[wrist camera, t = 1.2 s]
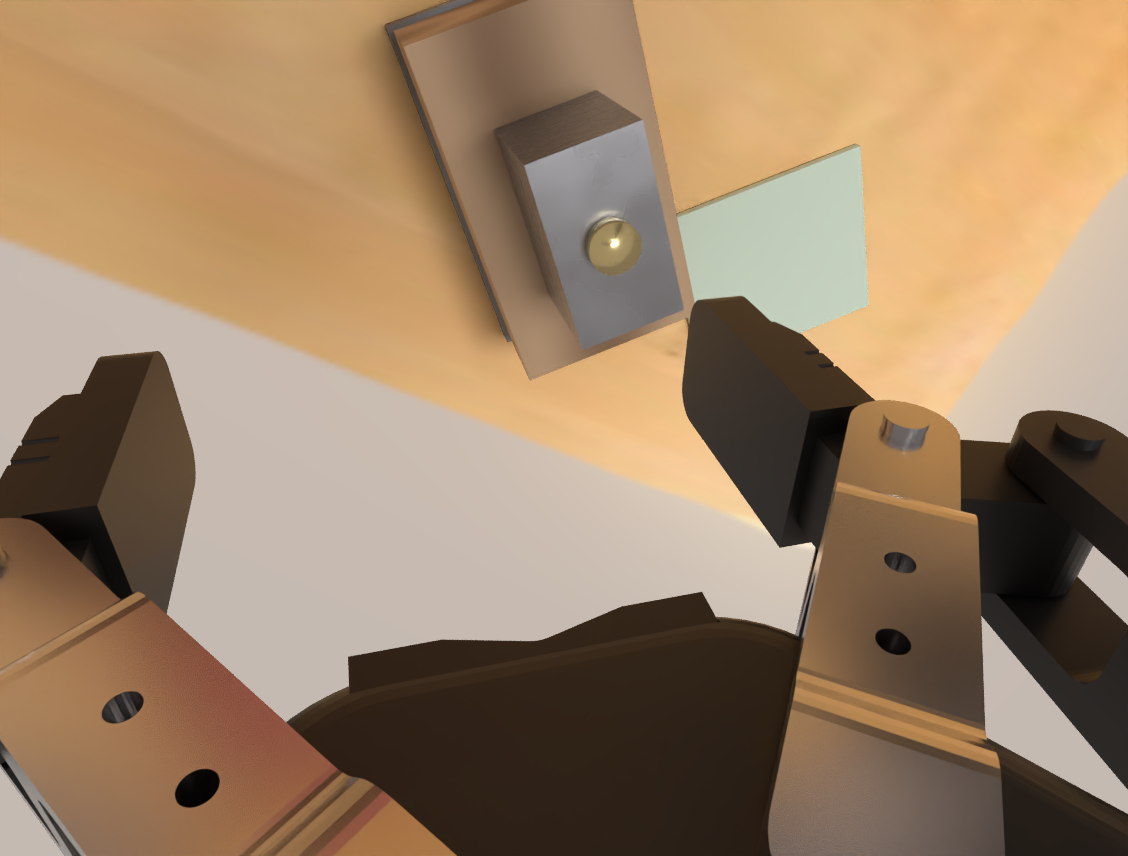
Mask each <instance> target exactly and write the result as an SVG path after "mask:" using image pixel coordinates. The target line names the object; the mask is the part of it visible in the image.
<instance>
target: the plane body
mask: <svg viewBox="0 0 1128 856" xmlns="http://www.w3.org/2000/svg"><path fill="white" fill-rule="evenodd" d="M385 27H386V30H387V32H388V35H389V37H390V40H391V42H392V45H393V48H394V50H395V53H396V55H397V58H398V61H399V63H400V66H401V68H402V71H403V74H404V76H405V79H406V81H407V84H408V87H409V89H410V92H411V94H412V97H413V99H414V102H415V105H416V107H417V110H418V112H419V115H420V118H421V120H422V123H423V125H424V128H425V131H426V133H427V136H428V138H429V141H430V144H431V146H432V149H433V151H434V154H435V157H436V159H437V162H438V164H439V167H440V169H441V172H442V175H443V177H444V180H445V182H446V185H447V188H448V190H449V193H450V195H451V198H452V201H453V203H454V206H455V208H456V211H457V214H458V216H459V219H460V221H461V224H462V227H463V229H464V232H465V234H466V237H467V239H468V242H469V245H470V247H471V250H472V252H473V255H474V258H475V260H476V263H477V265H478V268H479V271H480V273H481V276H482V278H483V281H484V284H485V286H486V289H487V291H488V294H489V296H490V299H491V302H492V304H493V307H494V309H495V312H496V315H497V317H498V320H499V322H500V325H501V328H502V330H503V333H504V335H505V338H506V340H507V342H509V341H512V343H513V345H514V347H515V349H516V351H517V353H518V356H519V358H520V360H521V362H522V364H523V366H524V369H525V371H526V373H527V375H528V377H529V380H532V379H535V378H537V377H540V376H542V375H545V374H547V373H550V372H552V371H555V370H557V369H560V368H562V367H565V366H567V365H570V364H572V363H575V362H577V361H580V360H582V359H585V358H587V357H590V356H592V355H595V354H597V353H600V352H602V351H605V350H607V349H610V348H612V347H615V346H617V345H620V344H622V343H625V342H627V341H630V340H632V339H635V338H637V337H640V336H642V335H645V334H647V333H650V332H652V331H655V330H657V329H660V328H662V327H665V326H667V325H670V324H672V323H675V322H677V321H680V320H682V319H685V318H687V317H690V315H691V310H692V307H693V305H694V303H695V301H694V297H693V292H692V287H691V282H690V277H689V272H688V267H687V263H686V258H685V253H684V248H683V243H682V238H681V233H680V229H679V224H678V219H677V214H676V209H675V204H674V199H673V195H672V190H671V185H670V180H669V175H668V170H667V165H666V161H665V156H664V151H663V146H662V141H661V136H660V131H659V127H658V122H657V117H656V112H655V107H654V102H653V97H652V93H651V88H650V83H649V78H648V73H647V68H646V63H645V59H644V54H643V49H642V44H641V39H640V34H639V29H638V25H637V20H636V15H635V10H634V5H633V0H450V1H448V2H445V3H442V4H439V5H437V6H434V7H431V8H429V9H426V10H423V11H421V12H418V13H415V14H413V15H410V16H407V17H404V18H402V19H399V20H396V21H394V22H391V23H388V24H386V25H385ZM595 90H597V91H599V92H600V93H602V94H604V95H605V96H607V97H608V98H610V99H611V100H613V101H615V102H616V103H618V104H619V105H621V106H622V107H624V108H626V109H627V110H629V111H630V112H632V113H633V114H635V115H637V116H638V117H640V118H641V119H643V122H644V126H645V131H646V136H647V140H648V145H649V149H650V154H651V159H652V163H653V168H654V173H655V177H656V182H657V186H658V191H659V196H660V200H661V205H662V209H663V214H664V219H665V223H666V228H667V233H668V237H669V242H670V246H671V251H672V256H673V260H674V265H675V270H676V274H677V279H678V283H679V288H680V293H681V297H682V302H683V306H684V310H682V311H680V312H677V313H675V314H672V315H670V316H667V317H665V318H662V319H660V320H657V321H655V322H652V323H650V324H647V325H645V326H642V327H640V328H637V329H635V330H632V331H630V332H627V333H625V334H622V335H620V336H617V337H615V338H612V339H610V340H607V341H605V342H602V343H600V344H597V345H595V346H592V347H590V348H587V349H585V350H582V348H581V346H580V345H579V343H578V341H577V340H576V338H575V336H574V335H573V333H572V332H571V330H570V328H569V327H568V325H567V323H566V322H565V320H564V319H563V317H562V315H561V314H560V312H559V310H558V309H557V307H556V305H555V304H554V302H553V301H552V299H551V297H550V296H549V293H548V290H547V287H546V284H545V281H544V278H543V275H542V272H541V269H540V266H539V263H538V260H537V257H536V254H535V251H534V248H533V245H532V242H531V239H530V236H529V233H528V230H527V227H526V224H525V221H524V218H523V215H522V212H521V209H520V206H519V203H518V200H517V197H516V194H515V191H514V188H513V185H512V182H511V179H510V176H509V173H508V170H507V167H506V164H505V161H504V158H503V155H502V152H501V149H500V146H499V143H498V139H497V136H496V133H495V130H494V129H495V128H498V127H500V126H503V125H506V124H508V123H511V122H514V121H516V120H519V119H521V118H524V117H527V116H529V115H532V114H535V113H537V112H540V111H542V110H545V109H548V108H550V107H553V106H556V105H558V104H561V103H563V102H566V101H569V100H571V99H574V98H577V97H579V96H582V95H584V94H587V93H590V92H592V91H595Z"/></svg>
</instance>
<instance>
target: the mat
mask: <svg viewBox="0 0 1128 856" xmlns="http://www.w3.org/2000/svg"><path fill="white" fill-rule="evenodd" d="M677 219H678V224H679V229H680V233H681V238H682V243H683V248H684V253H685V258H686V263H687V267H688V272H689V277H690V282H691V287H692V292H693V297H694V301H695V302H696V301H697V300H702V299H712V298H722V297H732V296H744V297H745V298H746V299H748V300H749V301H750V302H751V303H752V304H753V305H754V306H755V307H756V308H757V309H758V310H759V311H760V312H762V313H763V314H764V315H765V316H766V317H767V318H768V319H769V320H770V321H771V322H774V321H775V322H777V323H779V324H781V325H783V326H785V327H787V328H789V329H792V330H794V331H796V332H798V333H802V332H804V331H806V330H809V329H811V328H814V327H816V326H819V325H821V324H824V323H826V322H829V321H831V320H834V319H836V318H839V317H841V316H844V315H846V314H849V313H851V312H854V311H856V310H859V309H861V308H863V307H866V306H868V305H869V302H868V282H867V263H866V244H865V224H864V205H863V186H862V166H861V147H860V145H857V144H854V145H851V146H849V147H846V148H844V149H841V150H839V151H836V152H833V153H831V154H828V155H826V156H823V157H821V158H818V159H816V160H813V161H811V162H808V163H805V164H803V165H800V166H798V167H795V168H793V169H790V170H788V171H785V172H782V173H780V174H777V175H775V176H772V177H770V178H767V179H765V180H762V181H760V182H757V183H754V184H752V185H749V186H747V187H744V188H742V189H739V190H737V191H734V192H731V193H729V194H726V195H724V196H721V197H719V198H716V199H714V200H711V201H708V202H706V203H703V204H701V205H698V206H696V207H693V208H691V209H688V210H686V211H683V212H680V213H678V214H677ZM687 319H688V324H689V322H690V317H687Z"/></svg>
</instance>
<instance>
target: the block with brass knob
mask: <svg viewBox="0 0 1128 856" xmlns="http://www.w3.org/2000/svg"><path fill="white" fill-rule="evenodd" d="M494 130H495V133H496V136H497V139H498V143H499V146H500V149H501V152H502V155H503V158H504V161H505V164H506V167H507V170H508V173H509V176H510V179H511V182H512V185H513V188H514V191H515V194H516V197H517V200H518V203H519V206H520V209H521V212H522V215H523V218H524V221H525V224H526V227H527V230H528V233H529V236H530V239H531V242H532V245H533V248H534V251H535V254H536V257H537V260H538V263H539V266H540V269H541V272H542V275H543V278H544V281H545V284H546V287H547V290H548V293H549V296H550V297H551V299H552V301H553V302H554V304H555V305H556V307H557V309H558V310H559V312H560V314H561V315H562V317H563V319H564V320H565V322H566V323H567V325H568V327H569V328H570V330H571V332H572V333H573V335H574V336H575V338H576V340H577V341H578V343H579V345H580V346H581V348H582V350H585V349H587V348H590V347H592V346H595V345H597V344H600V343H602V342H605V341H607V340H610V339H612V338H615V337H617V336H620V335H622V334H625V333H627V332H630V331H632V330H635V329H637V328H640V327H642V326H645V325H647V324H650V323H652V322H655V321H657V320H660V319H662V318H665V317H667V316H670V315H672V314H675V313H677V312H680V311H682V310H684V306H683V302H682V297H681V293H680V288H679V283H678V279H677V274H676V270H675V265H674V260H673V256H672V251H671V246H670V242H669V237H668V233H667V228H666V223H665V219H664V214H663V209H662V205H661V200H660V196H659V191H658V186H657V182H656V177H655V173H654V168H653V163H652V159H651V154H650V149H649V145H648V140H647V136H646V131H645V126H644V122H643V119H641V118H640V117H638V116H637V115H635V114H633V113H632V112H630V111H629V110H627V109H626V108H624V107H622V106H621V105H619V104H618V103H616V102H615V101H613V100H611V99H610V98H608V97H607V96H605V95H604V94H602V93H600V92H599V91H597V90H595V91H592V92H590V93H587V94H584V95H582V96H579V97H577V98H574V99H571V100H569V101H566V102H563V103H561V104H558V105H556V106H553V107H550V108H548V109H545V110H542V111H540V112H537V113H535V114H532V115H529V116H527V117H524V118H521V119H519V120H516V121H514V122H511V123H508V124H506V125H503V126H500V127H498V128H495V129H494Z"/></svg>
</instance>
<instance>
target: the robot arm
mask: <svg viewBox="0 0 1128 856" xmlns="http://www.w3.org/2000/svg"><path fill="white" fill-rule="evenodd" d="M682 395H683V403H684V407H685V411H686V414H687V416H688V419H689V420H690V422H691V423H692V425H693V426H694V428H695V429H696V430H697V432H698V433H699V435H700V436H701V437H702V439H703V440H704V442H705V443H706V445H707V446H708V447H709V449H710V450H711V452H712V453H713V454H714V456H715V457H716V459H717V460H718V461H719V463H720V464H721V466H722V467H723V468H724V470H725V471H726V473H727V474H728V475H729V477H730V478H731V480H732V481H733V483H734V484H735V485H736V487H737V488H738V490H739V491H740V492H741V494H742V495H743V497H744V498H745V499H746V501H747V502H748V504H749V505H750V506H751V508H752V509H753V511H754V512H755V514H756V515H757V516H758V518H759V519H760V521H761V522H762V523H763V525H764V526H765V528H766V529H767V530H768V532H769V533H770V535H771V536H772V537H773V539H774V540H775V542H776V543H777V545H778V546H779V547H786V546H792V545H798V544H804V543H809V542H812V543H813V545H814V546H815V547H816V548H815V552H814V556H813V560H812V563H811V567H810V572H809V576H808V581H807V586H806V590H805V594H804V599H803V603H802V607H801V612H800V617H799V621H798V625H797V630H796V634H795V635H794V634H792V633H789V632H787V631H784V630H781V629H778V628H775V627H772V626H768V625H765V624H761V623H757V622H752V621H748V620H742V619H733V618H726V617H715V615H714V613H713V611H712V609H711V608H710V606H709V604H708V602H707V600H706V599H705V597H704V595H703V593H702V592H699V593H693V594H688V595H682V596H677V597H672V598H666V599H661V600H655V601H650V602H644V603H639V604H634V605H628V606H622V607H620V608H617V609H615V610H612V611H610V612H608V613H606V614H603V615H601V616H598V617H596V618H594V619H591V620H589V621H586V622H584V623H582V624H579V625H577V626H575V627H572V628H570V629H568V630H565V631H563V632H561V633H558V634H556V635H554V636H551V637H549V638H546V639H543V640H539V641H484V640H482V641H481V640H438V641H432V642H427V643H421V644H416V645H410V646H405V647H399V648H394V649H389V650H383V651H378V652H372V653H367V654H361V655H356V656H351V657H348V665H349V687H346V688H344V689H342V690H340V691H337V692H335V693H333V694H331V695H329V696H327V697H325V698H323V699H321V700H320V701H318V702H316V703H314V704H312V705H310V706H309V707H307V708H306V709H304V710H303V711H301V712H300V713H298V714H297V715H295V716H294V717H292V718H291V719H290V720H289V721H287V722H285V721H284V720H283V719H282V718H281V717H279V716H278V715H277V714H276V713H275V712H274V711H273V710H272V709H270V708H269V707H268V706H267V705H266V704H265V703H264V702H263V701H262V700H261V699H259V698H258V697H257V696H256V695H255V694H254V693H253V692H252V691H250V689H248V688H247V687H246V686H245V685H244V684H243V683H242V682H241V681H240V680H239V679H237V678H236V677H235V676H234V675H233V674H232V673H231V672H230V671H229V670H228V669H226V668H225V667H224V666H223V665H222V664H221V663H220V662H219V661H218V660H216V659H215V658H214V657H213V656H212V655H211V654H210V653H209V652H208V651H207V650H205V649H204V648H203V647H202V646H201V645H200V644H199V643H198V642H197V641H196V640H194V639H193V638H192V637H191V636H190V635H189V634H188V633H187V632H186V631H185V630H183V629H182V628H181V627H180V626H179V625H178V624H177V623H176V622H175V621H173V620H172V619H171V618H170V617H169V616H168V615H167V609H168V605H169V600H170V595H171V591H172V587H173V582H174V577H175V573H176V568H177V564H178V559H179V555H180V550H181V546H182V541H183V536H184V532H185V527H186V523H187V518H188V514H189V509H190V505H191V500H192V495H193V490H194V486H195V460H194V453H193V448H192V444H191V440H190V437H189V434H188V430H187V427H186V424H185V421H184V418H183V414H182V411H181V407H180V404H179V401H178V398H177V395H176V391H175V388H174V384H173V381H172V378H171V375H170V371H169V368H168V366H167V363H166V360H165V359H164V357H163V355H162V354H161V353H160V352H159V351H155V352H144V353H136V354H135V353H134V354H124V355H113V356H104V357H100V358H98V360H97V362H96V364H95V366H94V368H93V370H92V372H91V374H90V376H89V378H88V380H87V382H86V384H85V386H84V388H83V390H82V392H81V394H74V395H73V394H72V395H63V396H62V397H60V398H59V399H58V400H56V401H55V402H54V403H53V404H51V405H50V406H49V407H47V408H46V409H45V410H44V411H42V412H41V413H40V414H39V415H37V416H36V417H35V418H34V419H33V421H32V423H31V425H30V427H29V429H28V430H27V432H26V434H25V435H24V438H23V439H22V446H18V448H17V450H16V452H15V453H14V455H13V457H12V459H11V465H9V466H7V468H6V469H5V471H4V473H3V475H2V477H1V479H0V767H1V769H2V770H3V771H4V773H5V774H6V775H7V777H8V778H9V780H10V781H11V783H12V784H13V785H14V787H15V788H16V789H17V791H18V792H19V794H20V795H21V796H22V798H23V799H24V801H25V802H26V803H27V805H28V806H29V807H30V809H31V810H32V811H33V813H34V814H35V816H36V817H37V818H38V820H39V821H40V823H41V824H42V825H43V827H44V828H45V830H46V831H47V832H48V834H49V835H50V836H51V838H52V839H53V841H54V842H55V843H56V845H57V846H58V848H59V849H60V850H61V852H62V853H63V854H64V856H1128V814H1127V813H1125V812H1123V811H1121V810H1119V809H1117V808H1116V807H1114V806H1112V805H1110V804H1108V803H1106V802H1104V801H1103V800H1101V799H1099V798H1097V797H1095V796H1093V795H1091V794H1090V793H1088V792H1086V791H1084V790H1082V789H1080V788H1079V787H1077V786H1075V785H1073V784H1071V783H1069V782H1067V781H1066V780H1064V779H1062V778H1060V777H1058V776H1056V775H1055V774H1053V773H1051V772H1049V771H1047V770H1045V769H1043V768H1042V767H1040V766H1038V765H1036V764H1034V763H1033V762H1031V761H1029V760H1027V759H1025V758H1023V757H1021V756H1020V755H1018V754H1016V753H1014V752H1012V751H1010V750H1008V749H1007V748H1005V747H1003V746H1001V745H999V744H997V743H996V742H994V741H992V740H990V739H988V738H987V737H986V732H985V713H984V686H983V685H984V683H983V654H982V627H981V626H982V624H981V616H982V617H983V618H984V619H985V621H987V623H988V624H989V625H990V626H991V628H992V629H993V630H994V631H995V632H996V634H997V635H998V636H999V637H1000V638H1001V640H1002V641H1003V642H1004V643H1005V644H1006V645H1007V647H1008V648H1009V649H1010V650H1011V651H1012V653H1013V654H1014V655H1015V656H1016V657H1017V659H1018V660H1019V661H1020V662H1021V663H1022V664H1023V666H1024V667H1025V668H1026V669H1027V670H1028V671H1029V673H1030V674H1031V675H1032V676H1033V677H1034V679H1035V680H1036V681H1037V682H1038V683H1039V684H1040V686H1041V687H1042V688H1043V689H1044V691H1045V692H1046V693H1047V694H1048V695H1049V697H1050V698H1051V699H1052V700H1053V701H1054V702H1055V704H1056V705H1057V706H1058V707H1059V708H1060V710H1061V711H1062V712H1063V713H1064V714H1065V716H1066V717H1067V718H1068V719H1069V720H1070V721H1071V723H1072V724H1073V725H1074V726H1075V727H1076V729H1077V730H1078V731H1079V732H1080V733H1081V735H1082V736H1083V737H1084V738H1085V739H1086V741H1087V742H1088V743H1089V744H1090V745H1091V746H1092V748H1093V749H1094V750H1095V751H1096V752H1097V754H1098V755H1099V756H1100V757H1101V758H1102V759H1103V761H1104V762H1105V763H1106V764H1107V765H1108V767H1109V768H1110V769H1111V770H1112V771H1113V773H1114V774H1115V775H1116V776H1117V777H1118V779H1119V780H1120V781H1121V782H1122V783H1123V784H1124V786H1125V787H1126V788H1127V789H1128V625H1127V624H1126V623H1124V621H1123V620H1122V619H1121V618H1119V616H1118V615H1116V613H1114V612H1113V611H1112V610H1111V609H1110V608H1109V607H1108V606H1107V605H1106V604H1105V603H1104V602H1103V601H1102V600H1101V599H1100V598H1099V597H1098V596H1097V595H1096V594H1095V593H1094V592H1093V591H1092V590H1091V589H1090V588H1089V587H1088V586H1086V585H1085V583H1083V582H1082V581H1081V580H1080V579H1079V578H1078V577H1077V575H1078V574H1079V572H1080V570H1081V568H1082V566H1083V564H1084V562H1085V560H1086V558H1087V556H1088V554H1089V553H1090V551H1091V549H1092V547H1093V546H1095V547H1096V548H1097V549H1098V550H1099V551H1100V552H1101V553H1102V554H1103V555H1105V556H1106V557H1107V558H1108V559H1109V560H1110V561H1111V562H1112V563H1113V564H1115V565H1116V566H1117V567H1118V568H1119V569H1120V570H1121V571H1122V572H1123V573H1124V574H1125V575H1126V576H1127V577H1128V437H1126V436H1125V435H1124V434H1122V433H1120V432H1119V431H1117V430H1116V429H1114V428H1112V427H1110V426H1108V425H1107V424H1104V423H1102V422H1100V421H1097V420H1094V419H1092V418H1089V417H1086V416H1082V415H1078V414H1074V413H1069V412H1063V411H1049V410H1048V411H1036V412H1032V413H1029V414H1026V415H1025V416H1023V417H1022V418H1021V419H1020V420H1019V423H1018V425H1017V428H1016V431H1015V433H1014V435H1013V438H1012V440H1011V443H1001V442H986V441H972V440H960V435H959V433H958V431H957V429H956V428H955V427H954V426H953V425H952V424H951V423H950V422H949V421H948V420H947V419H945V418H944V417H942V416H941V415H939V414H937V413H935V412H933V411H931V410H929V409H926V408H924V407H921V406H918V405H915V404H910V403H906V402H900V401H891V400H879V401H875V400H874V399H873V398H872V397H871V396H870V395H868V394H867V393H866V392H865V391H864V390H863V389H862V388H861V387H860V386H858V385H857V384H856V383H855V382H854V381H853V380H852V379H851V378H850V377H848V376H847V375H846V374H845V373H844V372H843V371H842V370H841V369H840V368H838V367H837V366H835V367H834V366H833V362H832V361H831V360H830V359H828V358H827V357H826V356H825V355H824V354H823V353H819V350H818V349H817V348H816V347H815V346H814V345H813V344H812V343H811V342H810V341H808V340H807V339H806V338H805V337H804V336H803V335H802V334H800V333H798V332H796V331H794V330H792V329H789V328H787V327H785V326H783V325H781V324H779V323H777V322H775V321H774V322H771V321H770V320H769V319H768V318H767V317H766V316H765V315H764V314H763V313H762V312H760V311H759V310H758V309H757V308H756V307H755V306H754V305H753V304H752V303H751V302H750V301H749V300H748V299H746V298H745V297H744V296H732V297H722V298H712V299H702V300H697V301H696V302H695V303H694V305H693V307H692V310H691V315H690V322H689V331H688V340H687V348H686V357H685V366H684V374H683V384H682Z"/></svg>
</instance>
